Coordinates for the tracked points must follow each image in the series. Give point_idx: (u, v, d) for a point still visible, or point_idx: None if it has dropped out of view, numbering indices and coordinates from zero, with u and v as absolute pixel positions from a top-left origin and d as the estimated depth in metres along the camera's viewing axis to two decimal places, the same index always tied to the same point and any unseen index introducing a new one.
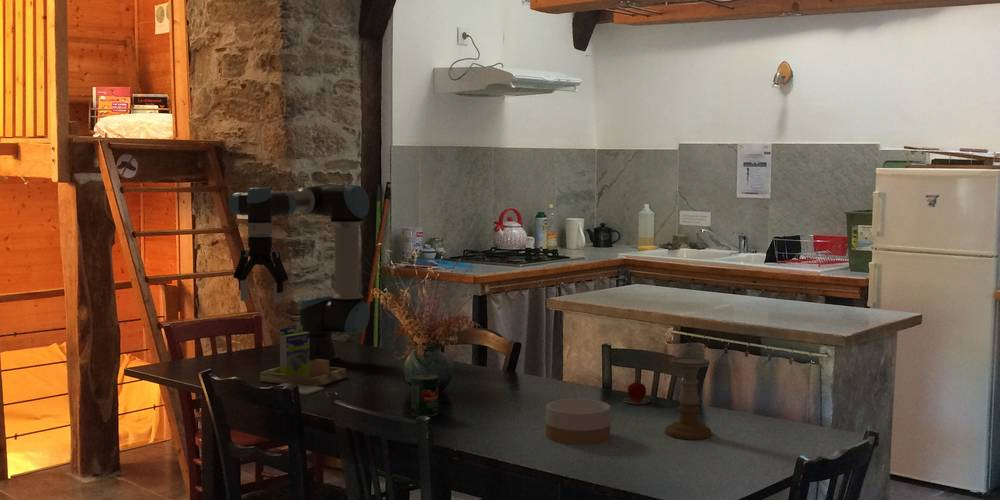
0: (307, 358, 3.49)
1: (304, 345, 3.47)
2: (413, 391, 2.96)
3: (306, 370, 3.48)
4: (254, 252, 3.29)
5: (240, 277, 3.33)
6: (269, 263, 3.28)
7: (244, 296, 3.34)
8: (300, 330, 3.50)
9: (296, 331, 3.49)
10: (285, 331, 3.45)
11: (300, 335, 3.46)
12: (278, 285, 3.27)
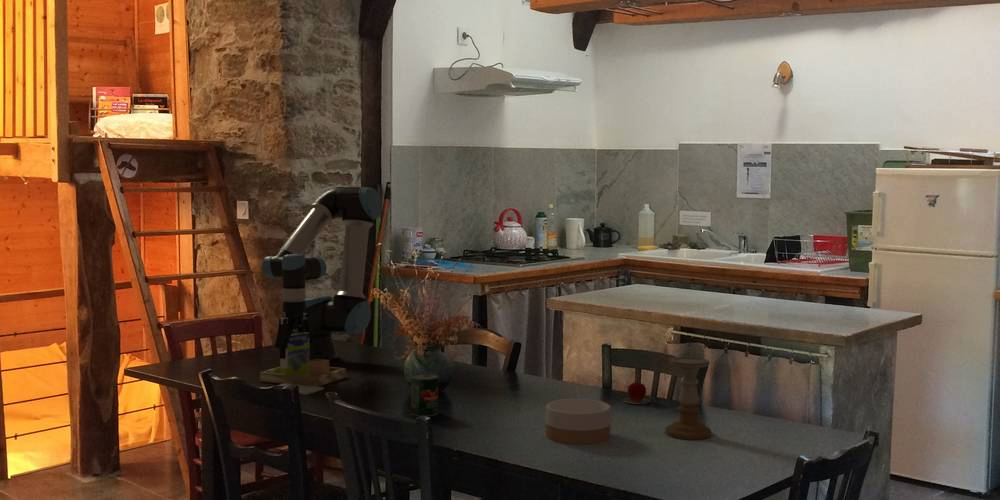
0: (307, 358, 3.49)
1: (304, 345, 3.47)
2: (413, 391, 2.96)
3: (306, 370, 3.48)
4: None
5: None
6: (286, 328, 3.43)
7: None
8: None
9: (296, 331, 3.49)
10: None
11: (300, 335, 3.46)
12: None
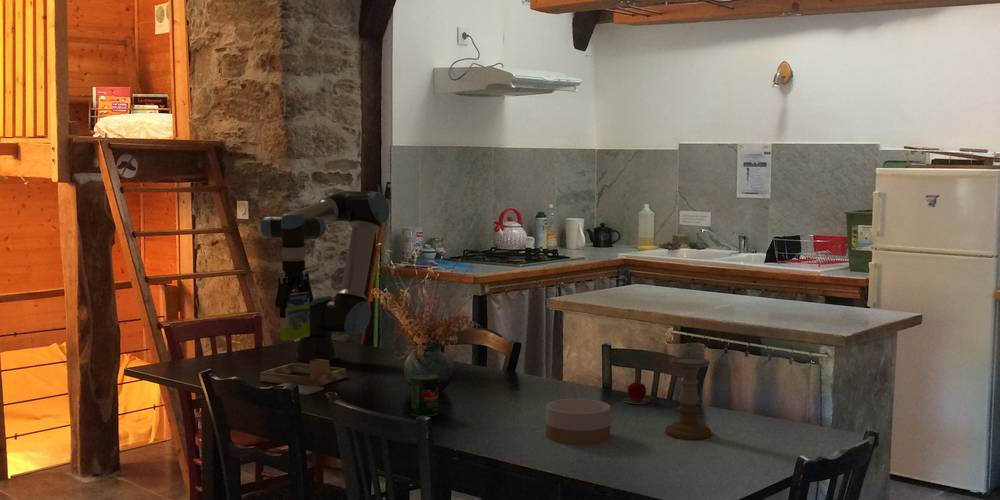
0: (307, 318, 3.48)
1: (304, 305, 3.46)
2: (413, 391, 2.96)
3: (306, 330, 3.48)
4: None
5: None
6: (286, 287, 3.42)
7: None
8: None
9: (296, 291, 3.48)
10: None
11: (300, 294, 3.45)
12: None
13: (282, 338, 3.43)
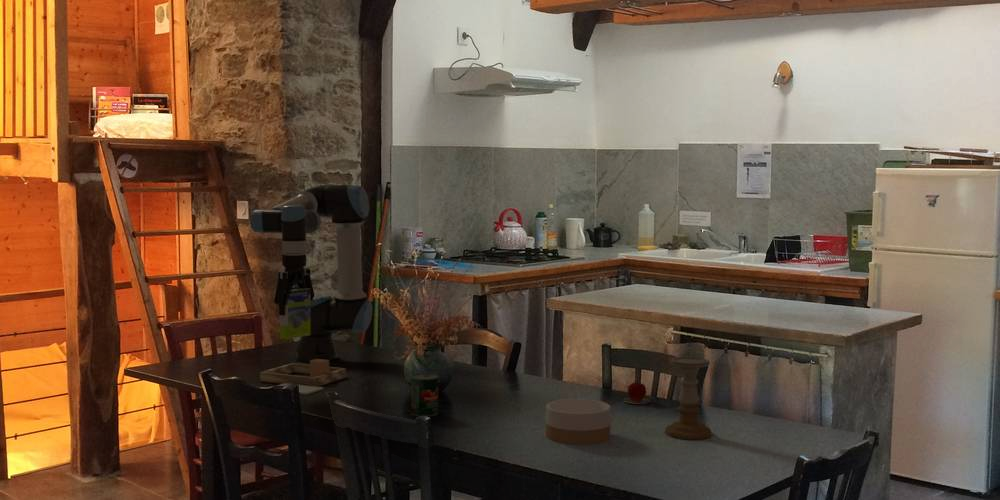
0: (308, 315, 3.30)
1: (304, 302, 3.28)
2: (413, 391, 2.96)
3: (307, 328, 3.29)
4: None
5: None
6: (286, 283, 3.24)
7: None
8: None
9: (296, 287, 3.30)
10: None
11: (300, 291, 3.27)
12: None
13: (281, 336, 3.24)
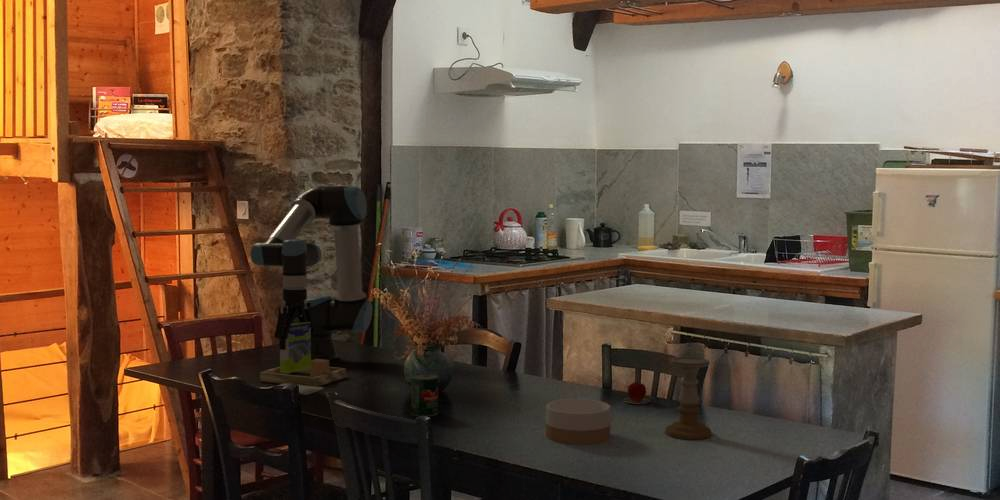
0: (308, 349, 3.30)
1: (305, 336, 3.29)
2: (413, 391, 2.96)
3: (307, 362, 3.30)
4: None
5: None
6: (287, 317, 3.24)
7: None
8: None
9: (297, 321, 3.30)
10: None
11: (301, 325, 3.27)
12: None
13: (281, 371, 3.25)
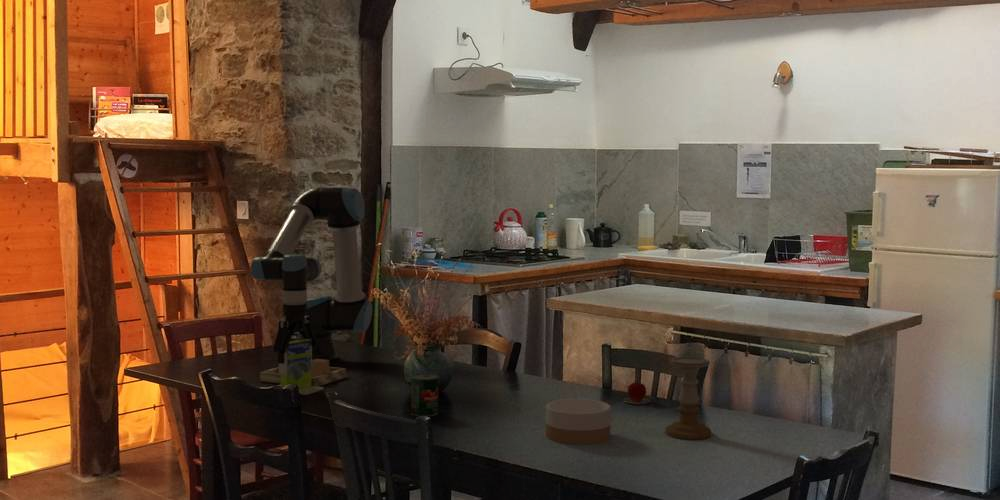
0: (309, 366, 3.31)
1: (305, 353, 3.29)
2: (413, 391, 2.96)
3: (307, 379, 3.31)
4: None
5: None
6: (286, 332, 3.25)
7: None
8: (302, 337, 3.32)
9: (297, 338, 3.31)
10: None
11: (302, 342, 3.28)
12: None
13: None
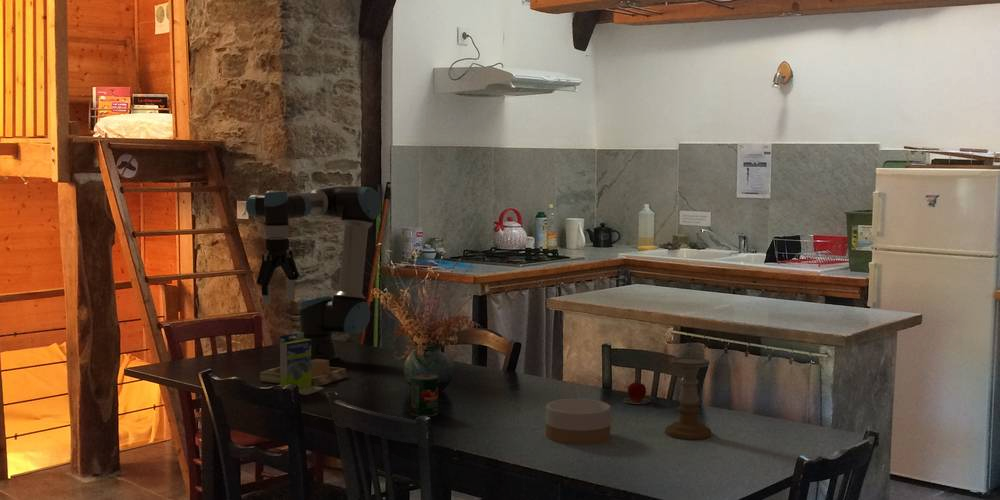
0: (309, 366, 3.31)
1: (305, 353, 3.29)
2: (413, 391, 2.96)
3: (307, 379, 3.31)
4: None
5: None
6: (269, 265, 3.35)
7: (289, 295, 3.45)
8: (301, 337, 3.32)
9: (297, 338, 3.31)
10: (285, 338, 3.27)
11: (301, 342, 3.28)
12: None
13: None
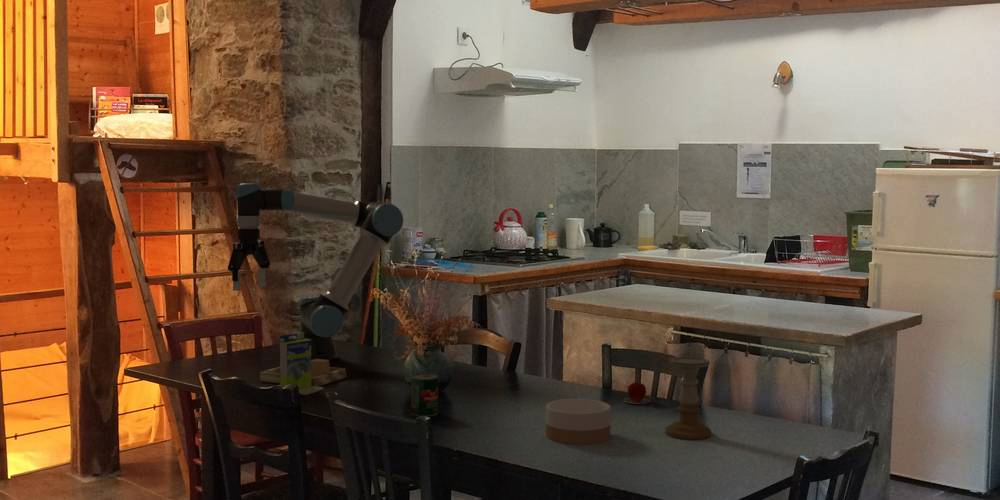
0: (309, 366, 3.31)
1: (305, 353, 3.29)
2: (413, 391, 2.96)
3: (307, 379, 3.31)
4: None
5: None
6: (240, 253, 3.55)
7: (260, 282, 3.65)
8: (301, 337, 3.32)
9: (297, 338, 3.31)
10: (285, 338, 3.27)
11: (301, 342, 3.28)
12: None
13: None
